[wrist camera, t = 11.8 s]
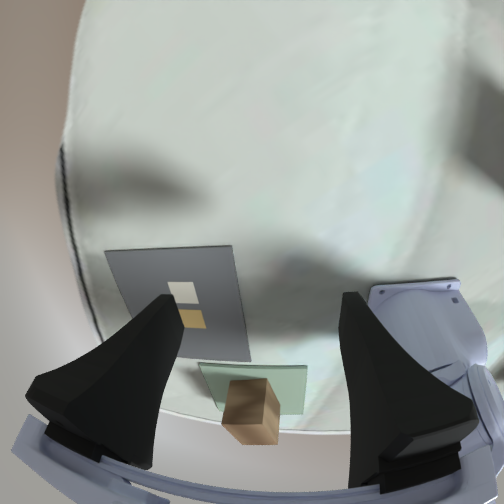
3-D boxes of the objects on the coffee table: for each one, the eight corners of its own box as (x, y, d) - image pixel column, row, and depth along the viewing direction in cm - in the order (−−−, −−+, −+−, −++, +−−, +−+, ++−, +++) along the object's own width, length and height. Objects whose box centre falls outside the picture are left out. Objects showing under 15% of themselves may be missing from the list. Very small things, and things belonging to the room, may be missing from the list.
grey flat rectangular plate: (231, 245, 21) (231, 247, 21) (251, 360, 28) (250, 362, 28) (105, 251, 23) (103, 252, 22) (151, 352, 30) (150, 354, 29)
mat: (307, 365, 27) (307, 368, 27) (303, 412, 33) (303, 414, 33) (200, 362, 29) (199, 365, 29) (219, 408, 35) (219, 411, 35)
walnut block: (267, 378, 29) (262, 424, 24) (280, 404, 32) (277, 444, 27) (230, 380, 30) (221, 424, 25) (248, 406, 33) (242, 444, 28)
